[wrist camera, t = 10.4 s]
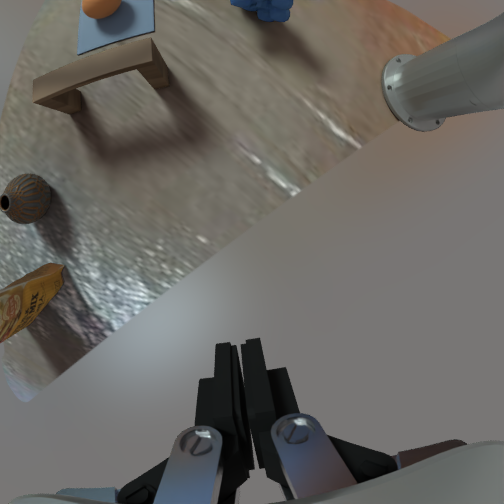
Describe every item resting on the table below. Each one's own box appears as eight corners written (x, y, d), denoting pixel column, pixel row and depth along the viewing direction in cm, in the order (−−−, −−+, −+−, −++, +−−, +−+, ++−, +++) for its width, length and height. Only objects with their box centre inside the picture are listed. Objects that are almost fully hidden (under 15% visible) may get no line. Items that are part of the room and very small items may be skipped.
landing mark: (153, -25, 28) (152, -25, 28) (154, 31, 31) (154, 30, 31) (82, -2, 28) (81, -3, 27) (77, 55, 31) (77, 54, 30)
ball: (116, -23, 22) (121, 14, 27) (122, -22, 26) (126, 10, 31) (74, -9, 22) (80, 26, 26) (85, -10, 25) (89, 21, 30)
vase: (45, 163, 34) (9, 163, 26) (64, 202, 36) (30, 210, 28) (18, 191, 35) (-18, 196, 26) (36, 228, 36) (2, 240, 28)
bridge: (69, 95, 32) (33, 80, 23) (167, 66, 33) (151, 37, 23) (69, 114, 33) (32, 102, 24) (169, 86, 34) (152, 60, 24)
